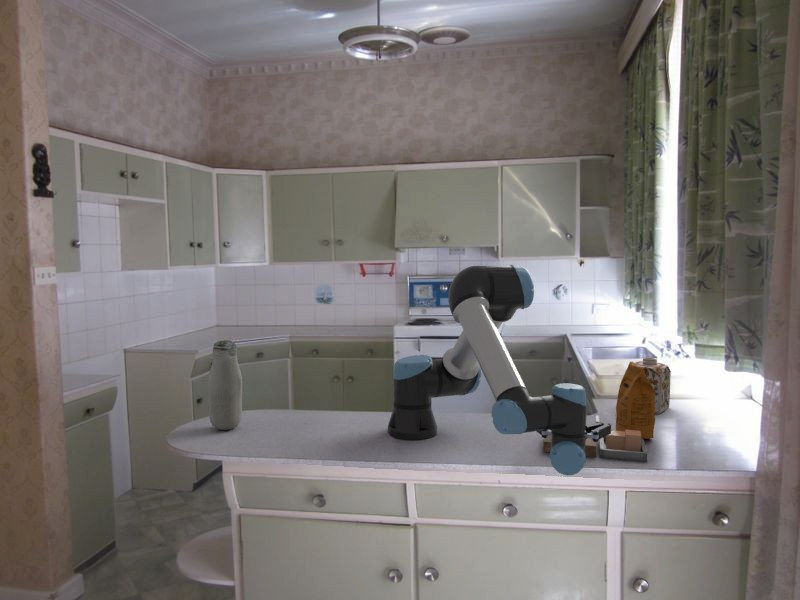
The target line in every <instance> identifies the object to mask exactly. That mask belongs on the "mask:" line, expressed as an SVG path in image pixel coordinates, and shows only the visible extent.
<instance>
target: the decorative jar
mask: <svg viewBox="0 0 800 600" xmlns="http://www.w3.org/2000/svg"><path fill="white" fill-rule="evenodd" d="M634 363H635V364H636V366H637V367H643V368H646V369H648V372H647V373H645V375H646V377H647V379H648V380H649V382H650V384H651V385H652V387H653V389H654V391H655V412H654V414H657V415H660V414H662V413H664V411H666V410H667V409H668V408H669V407H670V401H671V400H670V399H671V398H670V397H671V375H672V374H671V373H672V370H671V369H670V366H669V365H667V364H665V363H661V362H658V360H657V358H655V357H643V358H642V361H641V360H639V361H635V362H634Z"/></svg>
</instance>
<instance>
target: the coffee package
mask: <svg viewBox="0 0 800 600" xmlns="http://www.w3.org/2000/svg"><path fill="white" fill-rule="evenodd" d="M647 372H648V369H646V368H643V367H637V366H636V364H635V362H634V361H629V364H628V365H627V368H626V370H625V372H624V373H623V374H624V375H623V376H622V379H621V381H620V385H619V386H618V387H619V388H618V393H617V397H616V398H617V399H616V400H617V401H616V405H615V411H616V412H615V417H616V418H615V419H616V420H615V431H625V430H637V431H641V438H643V439H644V440H650V439H654V429H655V424H656V417H655V413H654V412H655V391H654V389H653V387H652V385H651V384H650V382H649V380H648V379H647V377H646V375H645V373H647Z"/></svg>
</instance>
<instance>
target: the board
mask: <svg viewBox="0 0 800 600" xmlns="http://www.w3.org/2000/svg"><path fill="white" fill-rule="evenodd" d="M543 439H544V441H543V453H548V452H550V451H551V435H548V437H547V438H543ZM585 455H586V457H592V458H593V457H594V458H596V457H597V442H593V440H591V438H587V439H586V441H585Z"/></svg>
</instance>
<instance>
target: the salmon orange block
mask: <svg viewBox="0 0 800 600" xmlns="http://www.w3.org/2000/svg"><path fill="white" fill-rule="evenodd" d="M625 451H636V452H641V431H637V430H625Z"/></svg>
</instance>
